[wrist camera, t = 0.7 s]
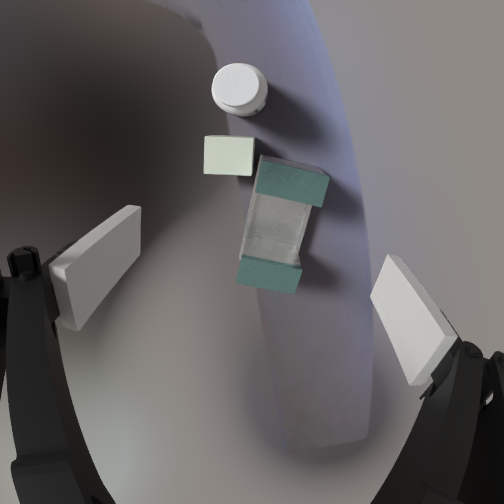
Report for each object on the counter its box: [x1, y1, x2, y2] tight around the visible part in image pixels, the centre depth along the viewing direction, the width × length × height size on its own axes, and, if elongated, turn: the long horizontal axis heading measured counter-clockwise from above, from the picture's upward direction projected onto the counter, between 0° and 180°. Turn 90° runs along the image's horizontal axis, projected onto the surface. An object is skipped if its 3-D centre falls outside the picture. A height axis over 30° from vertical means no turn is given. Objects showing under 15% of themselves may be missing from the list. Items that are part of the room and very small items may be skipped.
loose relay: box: [204, 135, 255, 176], centre depth 30 cm, size 4×5×4 cm
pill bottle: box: [212, 63, 268, 117], centre depth 24 cm, size 5×5×9 cm
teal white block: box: [236, 154, 330, 294], centre depth 31 cm, size 13×7×7 cm, turn 168°
